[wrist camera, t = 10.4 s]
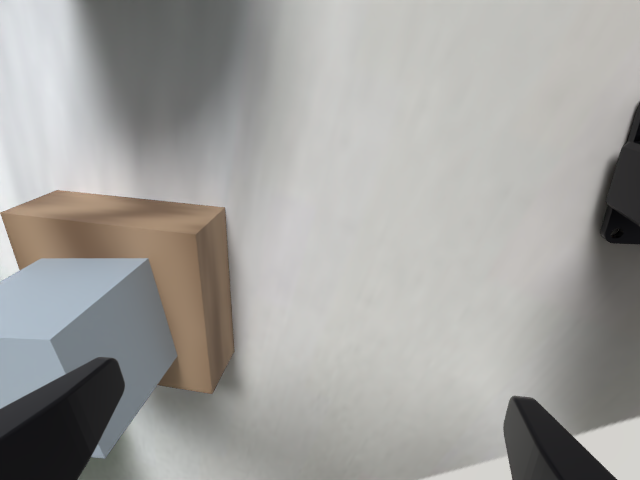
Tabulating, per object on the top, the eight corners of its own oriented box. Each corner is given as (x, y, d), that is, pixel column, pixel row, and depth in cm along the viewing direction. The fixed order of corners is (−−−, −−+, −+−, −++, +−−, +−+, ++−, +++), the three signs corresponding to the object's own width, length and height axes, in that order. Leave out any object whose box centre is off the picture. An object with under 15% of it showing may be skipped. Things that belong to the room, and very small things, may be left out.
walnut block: (227, 204, 21) (195, 234, 17) (236, 346, 25) (212, 394, 22) (62, 188, 22) (0, 212, 18) (97, 326, 26) (52, 367, 23)
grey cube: (148, 258, 18) (49, 339, 13) (177, 355, 21) (105, 458, 15) (41, 258, 19) (-92, 333, 14) (81, 351, 22) (-18, 446, 16)
